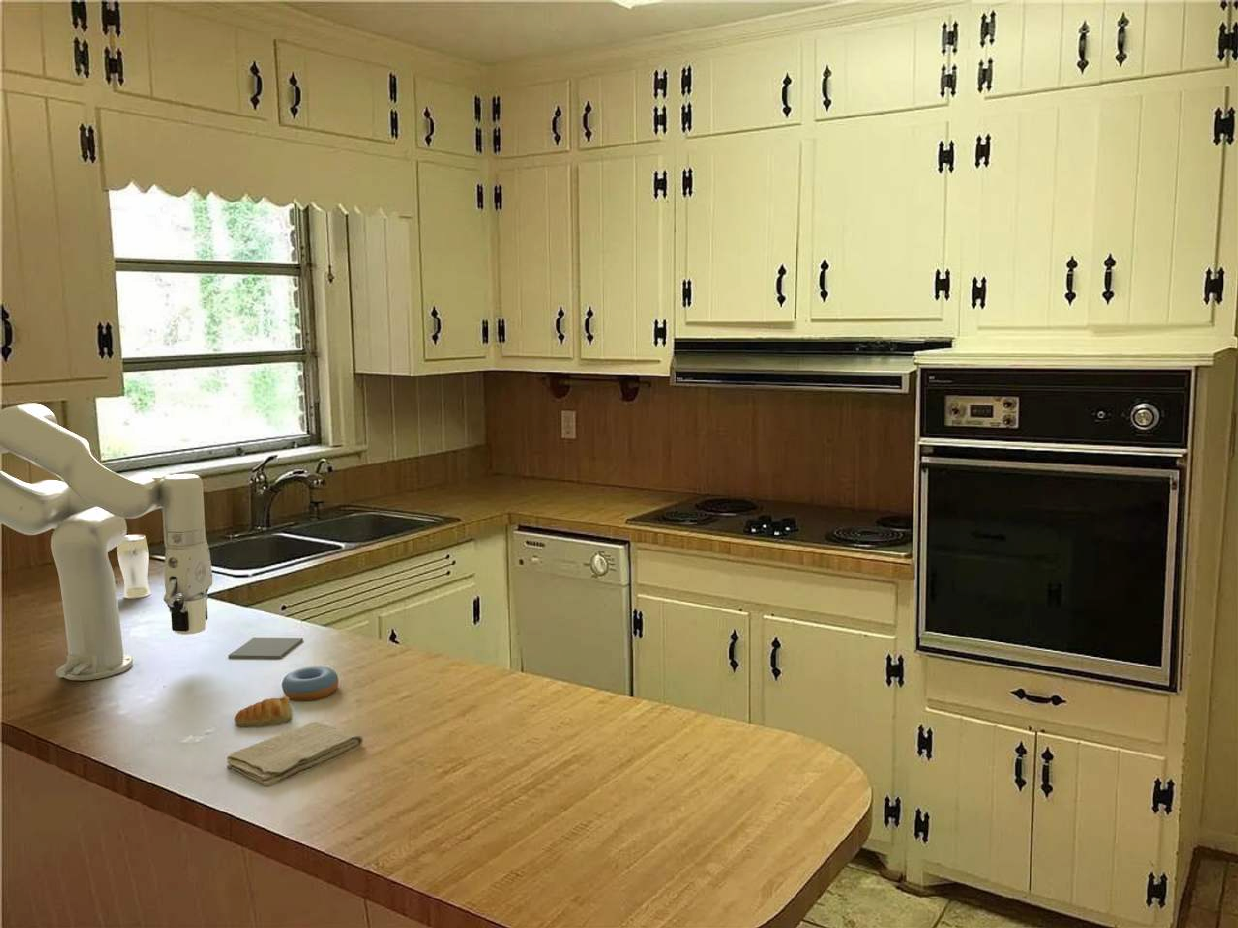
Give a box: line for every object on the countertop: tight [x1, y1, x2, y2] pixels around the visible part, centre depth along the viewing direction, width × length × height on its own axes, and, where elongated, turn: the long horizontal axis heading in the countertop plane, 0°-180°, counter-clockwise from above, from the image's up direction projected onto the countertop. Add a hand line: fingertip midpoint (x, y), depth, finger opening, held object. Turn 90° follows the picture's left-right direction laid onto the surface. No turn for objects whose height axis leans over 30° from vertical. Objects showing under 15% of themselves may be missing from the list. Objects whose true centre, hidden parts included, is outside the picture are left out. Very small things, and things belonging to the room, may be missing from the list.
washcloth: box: [226, 721, 364, 787], centre depth 159 cm, size 12×18×3 cm, turn 144°
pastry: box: [234, 695, 293, 728], centre depth 174 cm, size 9×7×4 cm
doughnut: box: [281, 665, 339, 701], centre depth 186 cm, size 10×10×5 cm
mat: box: [228, 637, 304, 660], centre depth 210 cm, size 11×11×1 cm
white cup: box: [174, 593, 208, 636], centre depth 201 cm, size 7×7×7 cm
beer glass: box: [116, 533, 152, 600], centre depth 252 cm, size 7×7×15 cm
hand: (190, 624), depth 201 cm, fingers closed on white cup, 6 cm apart
